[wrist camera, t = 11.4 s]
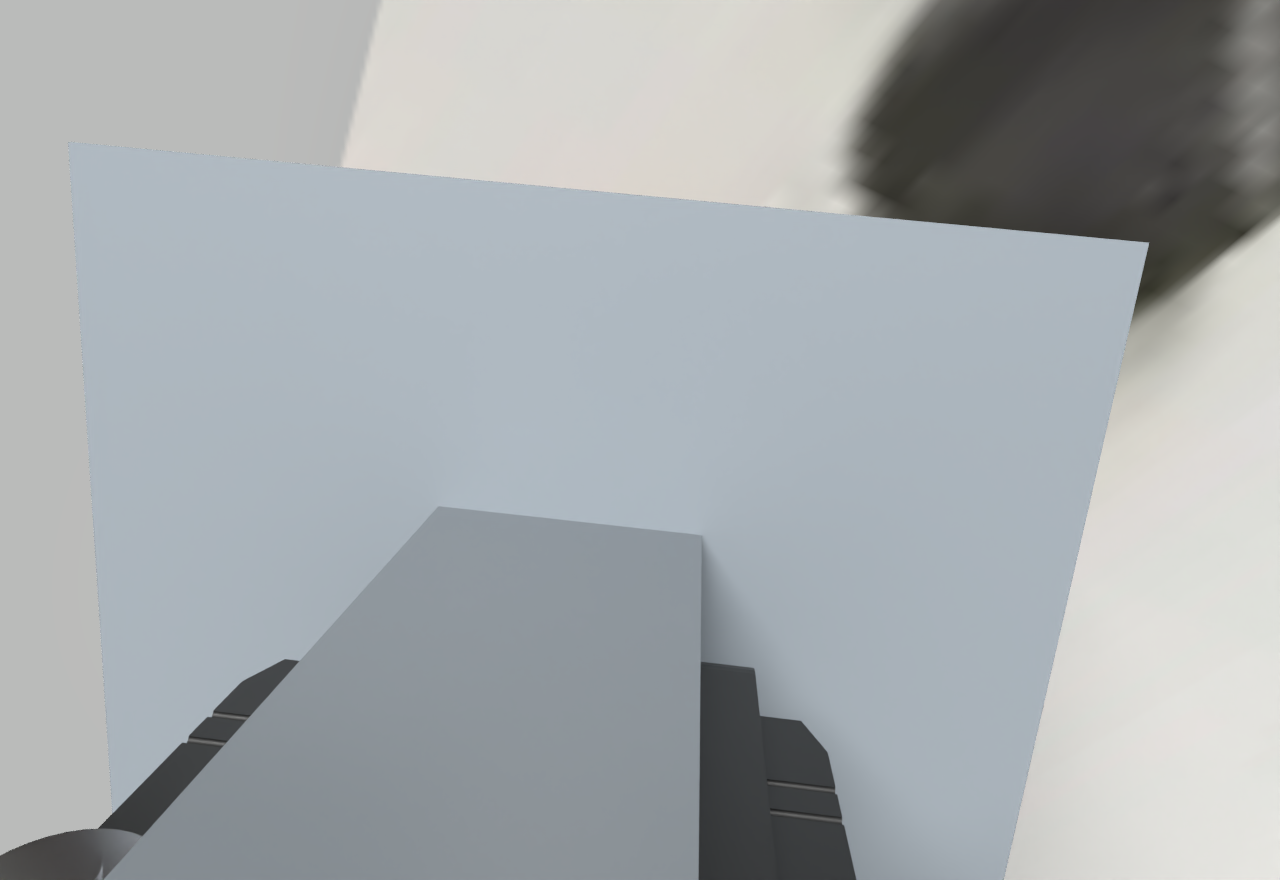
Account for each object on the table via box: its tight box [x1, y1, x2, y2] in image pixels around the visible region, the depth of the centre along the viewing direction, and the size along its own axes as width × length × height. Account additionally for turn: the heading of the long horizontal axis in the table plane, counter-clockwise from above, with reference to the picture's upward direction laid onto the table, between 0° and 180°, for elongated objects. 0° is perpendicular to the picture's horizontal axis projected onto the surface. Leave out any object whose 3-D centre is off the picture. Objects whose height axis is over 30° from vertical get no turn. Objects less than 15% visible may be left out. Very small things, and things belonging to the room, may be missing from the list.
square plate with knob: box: [68, 142, 1149, 880], centre depth 12 cm, size 11×11×15 cm
